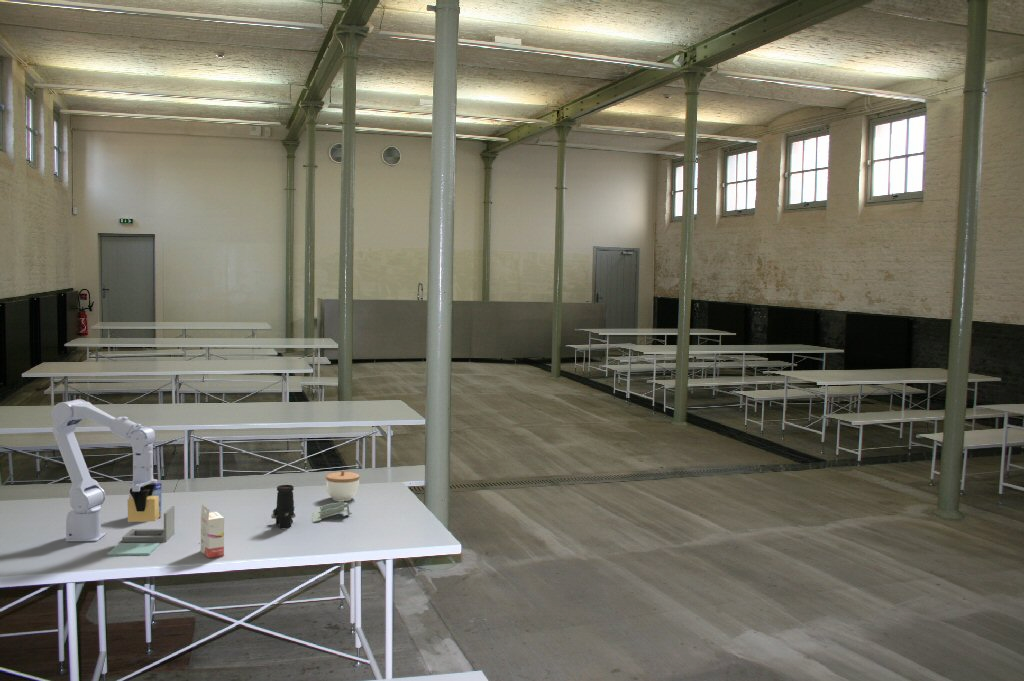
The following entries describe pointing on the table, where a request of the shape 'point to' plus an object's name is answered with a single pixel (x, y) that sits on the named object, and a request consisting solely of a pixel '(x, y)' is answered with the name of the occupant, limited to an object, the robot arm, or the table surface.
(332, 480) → the lidded bowl
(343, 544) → the table surface
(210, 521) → the ink cartridge box
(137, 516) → the orange rectangular block
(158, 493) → the ink cartridge box
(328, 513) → the metal bracket
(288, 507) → the scope
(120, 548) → the teal pad
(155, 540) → the grey angular piece
